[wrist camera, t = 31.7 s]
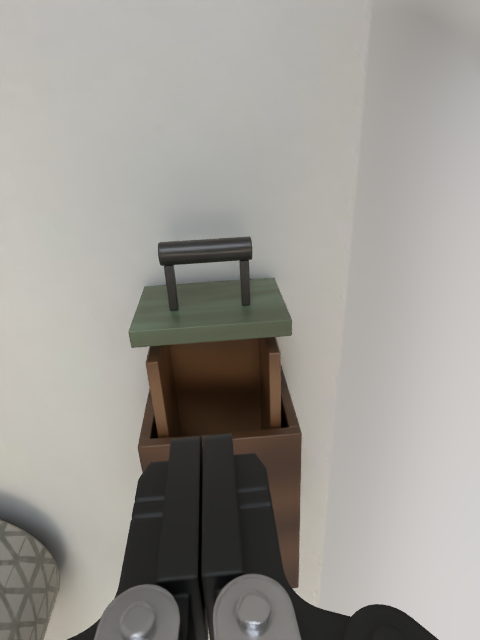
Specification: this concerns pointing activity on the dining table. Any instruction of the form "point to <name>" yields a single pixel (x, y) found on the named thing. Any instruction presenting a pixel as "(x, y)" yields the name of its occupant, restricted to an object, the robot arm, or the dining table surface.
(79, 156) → the dining table surface
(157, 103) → the dining table surface
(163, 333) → the drawer
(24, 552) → the planter
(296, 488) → the cabinet
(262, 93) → the dining table surface
